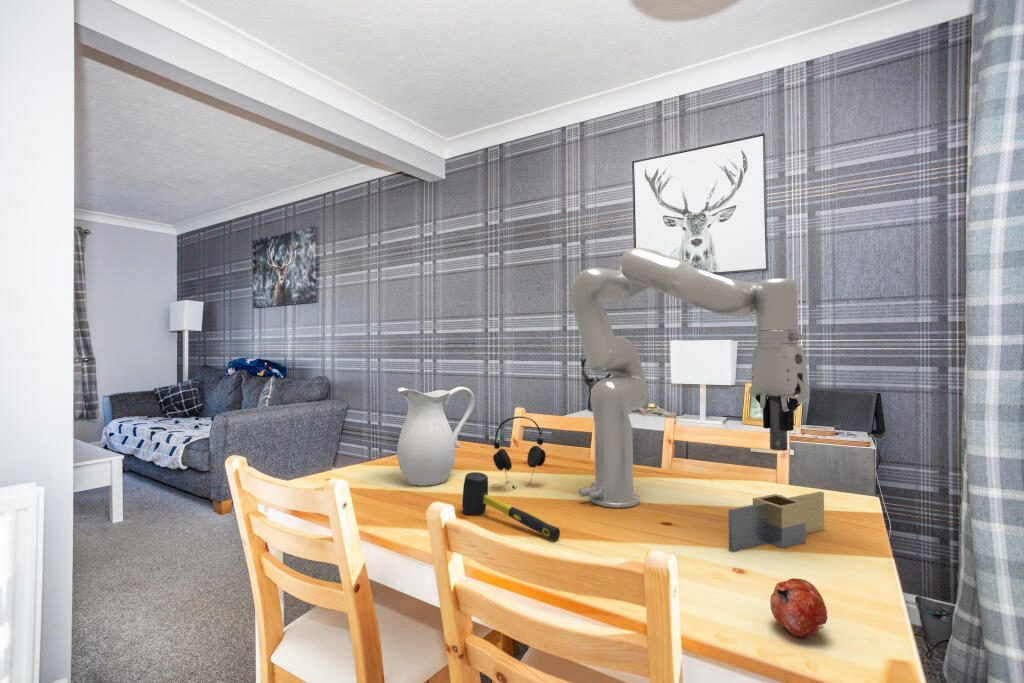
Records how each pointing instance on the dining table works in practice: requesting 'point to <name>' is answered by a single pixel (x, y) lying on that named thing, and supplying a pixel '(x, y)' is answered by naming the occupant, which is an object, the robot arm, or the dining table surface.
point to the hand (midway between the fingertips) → (778, 428)
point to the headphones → (534, 455)
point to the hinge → (776, 521)
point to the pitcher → (429, 436)
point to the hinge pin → (776, 423)
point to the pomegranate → (798, 607)
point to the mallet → (498, 505)
